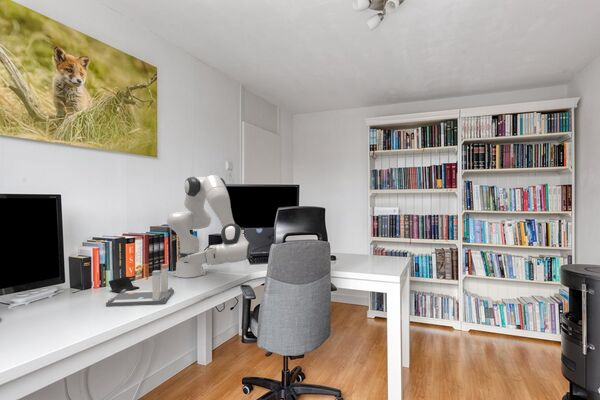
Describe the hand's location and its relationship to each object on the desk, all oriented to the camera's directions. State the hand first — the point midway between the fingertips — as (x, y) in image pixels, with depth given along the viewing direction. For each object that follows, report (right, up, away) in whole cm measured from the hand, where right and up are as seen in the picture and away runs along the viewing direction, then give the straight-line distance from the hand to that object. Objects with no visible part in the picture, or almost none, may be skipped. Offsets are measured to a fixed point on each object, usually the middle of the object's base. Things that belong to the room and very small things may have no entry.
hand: (183, 258), depth 144 cm
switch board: (-21, -20, +5) cm, 29 cm away
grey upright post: (-14, -18, +13) cm, 26 cm away
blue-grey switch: (-12, -18, -1) cm, 22 cm away
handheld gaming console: (-37, -20, +19) cm, 46 cm away
